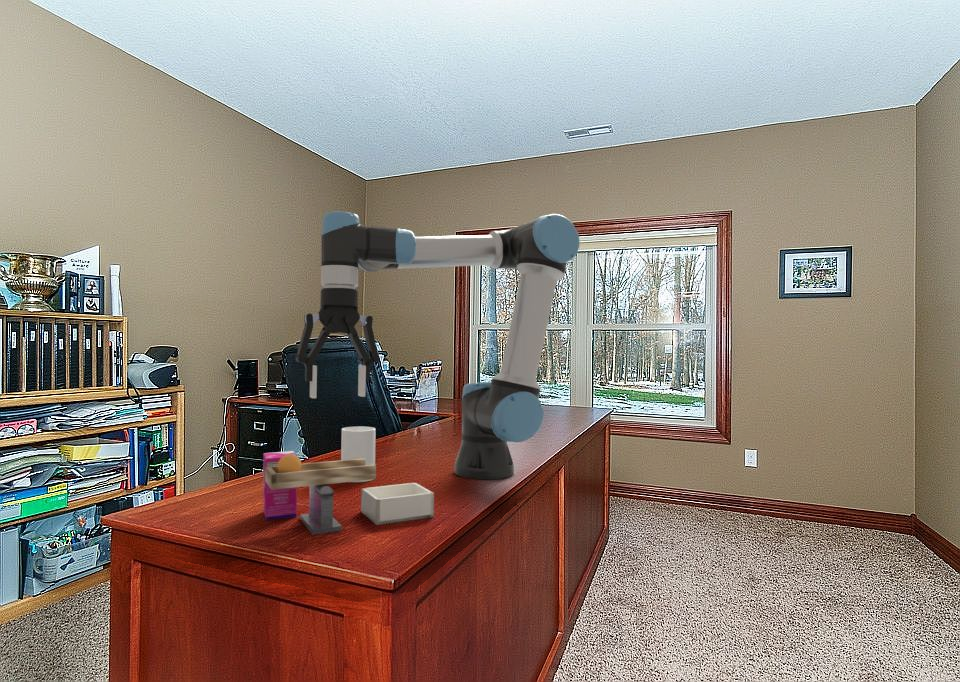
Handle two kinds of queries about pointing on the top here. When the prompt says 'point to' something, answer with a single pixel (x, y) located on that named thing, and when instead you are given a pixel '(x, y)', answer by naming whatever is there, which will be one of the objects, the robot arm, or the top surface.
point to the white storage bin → (397, 503)
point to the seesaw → (321, 474)
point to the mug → (358, 444)
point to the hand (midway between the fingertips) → (337, 396)
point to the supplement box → (278, 492)
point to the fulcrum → (320, 511)
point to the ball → (289, 464)
